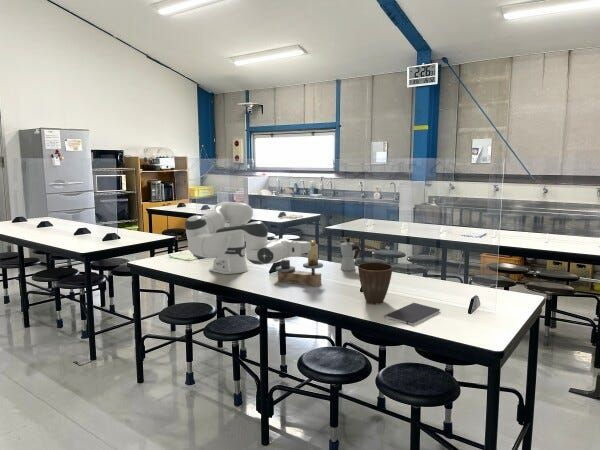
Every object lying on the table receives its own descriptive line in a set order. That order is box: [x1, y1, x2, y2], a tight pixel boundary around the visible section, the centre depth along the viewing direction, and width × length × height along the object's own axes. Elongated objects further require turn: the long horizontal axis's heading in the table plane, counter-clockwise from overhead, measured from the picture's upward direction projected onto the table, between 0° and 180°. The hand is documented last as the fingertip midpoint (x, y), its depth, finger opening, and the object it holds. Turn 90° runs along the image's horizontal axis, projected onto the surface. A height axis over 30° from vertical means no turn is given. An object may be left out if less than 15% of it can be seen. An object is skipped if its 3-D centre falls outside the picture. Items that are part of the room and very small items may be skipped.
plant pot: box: [357, 261, 394, 305], centre depth 200 cm, size 15×15×16 cm
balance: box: [275, 259, 324, 287], centre depth 233 cm, size 26×10×10 cm, turn 61°
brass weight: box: [307, 239, 319, 266], centre depth 227 cm, size 5×5×12 cm
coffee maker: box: [339, 237, 361, 272], centre depth 256 cm, size 15×9×18 cm, turn 42°
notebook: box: [384, 302, 441, 326], centre depth 184 cm, size 13×2×21 cm
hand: (297, 242), depth 218 cm, fingers open, 8 cm apart
